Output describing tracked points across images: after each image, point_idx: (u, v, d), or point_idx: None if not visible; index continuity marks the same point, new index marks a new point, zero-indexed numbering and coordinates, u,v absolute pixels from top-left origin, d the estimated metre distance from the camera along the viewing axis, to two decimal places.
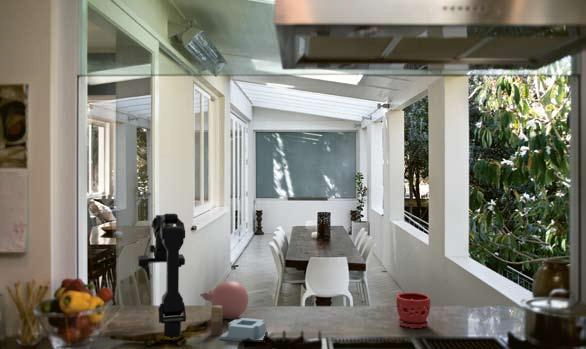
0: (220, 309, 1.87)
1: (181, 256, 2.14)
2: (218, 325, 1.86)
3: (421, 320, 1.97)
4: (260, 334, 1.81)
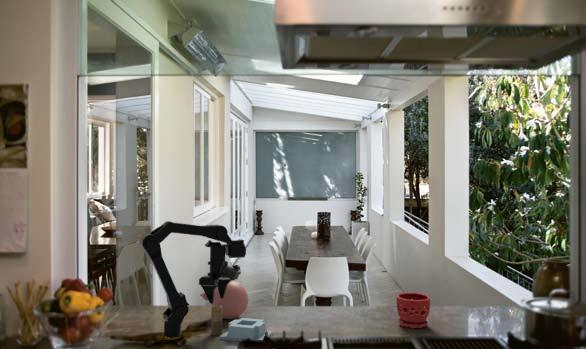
0: (220, 309, 1.87)
1: (206, 277, 1.81)
2: (218, 325, 1.86)
3: (421, 320, 1.97)
4: (260, 334, 1.81)
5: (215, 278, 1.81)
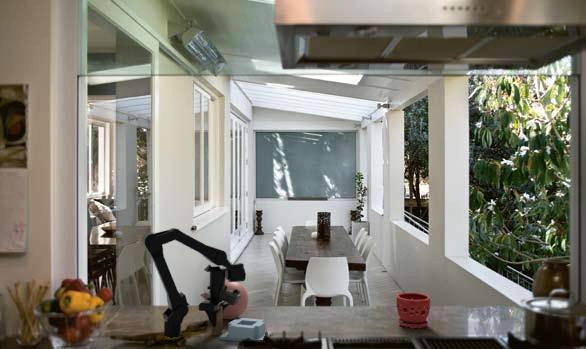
0: None
1: (206, 302, 1.80)
2: (218, 325, 1.86)
3: (421, 320, 1.97)
4: (260, 334, 1.81)
5: (215, 303, 1.80)
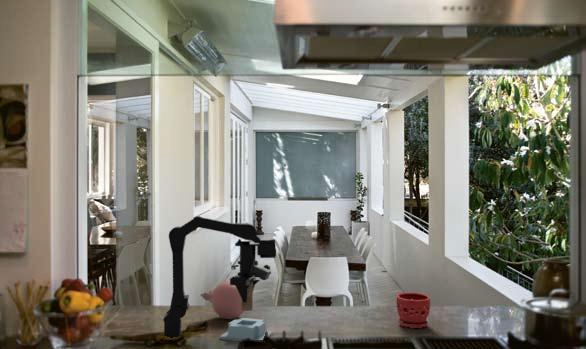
0: None
1: (237, 276, 1.77)
2: (249, 301, 1.83)
3: (421, 320, 1.97)
4: (260, 334, 1.81)
5: (246, 278, 1.77)
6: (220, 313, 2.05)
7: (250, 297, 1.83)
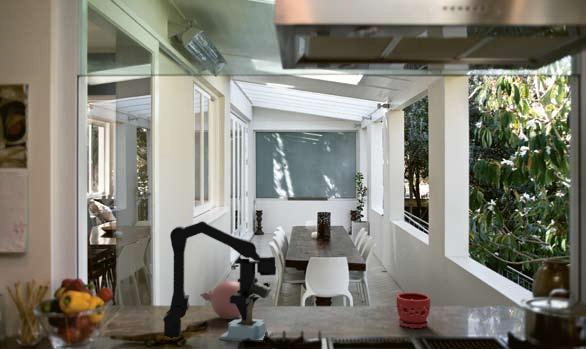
0: None
1: (237, 295, 1.77)
2: (249, 318, 1.83)
3: (421, 320, 1.97)
4: (260, 334, 1.81)
5: (246, 296, 1.77)
6: (220, 313, 2.05)
7: (250, 315, 1.83)
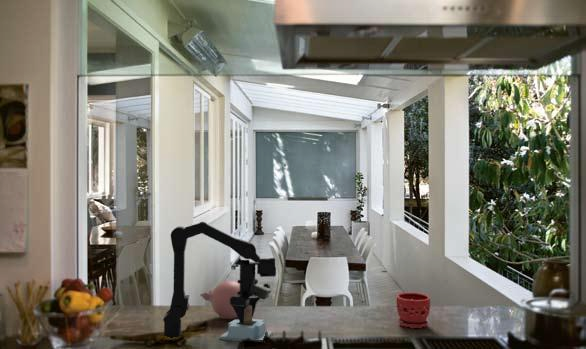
0: (250, 309, 1.83)
1: (237, 296, 1.77)
2: None
3: (421, 320, 1.97)
4: (260, 334, 1.81)
5: (246, 297, 1.77)
6: (220, 313, 2.05)
7: (250, 321, 1.83)
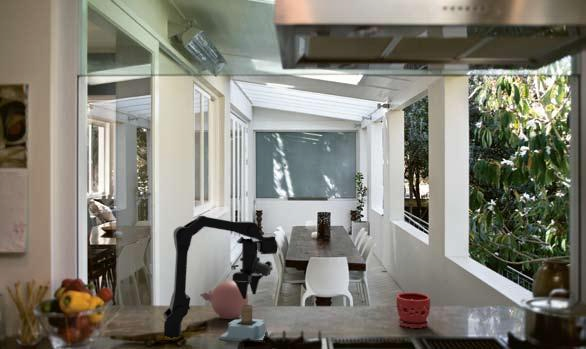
0: (250, 309, 1.83)
1: (240, 272, 1.84)
2: None
3: (421, 320, 1.97)
4: (260, 334, 1.81)
5: (248, 274, 1.84)
6: (220, 313, 2.05)
7: (250, 321, 1.83)
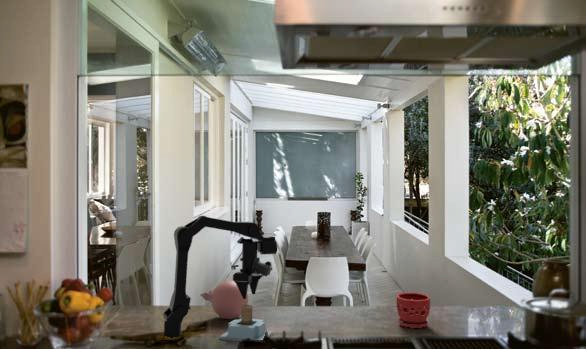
0: (250, 309, 1.83)
1: (240, 272, 1.85)
2: None
3: (421, 320, 1.97)
4: (260, 334, 1.81)
5: (249, 274, 1.85)
6: (220, 313, 2.05)
7: (250, 322, 1.83)
